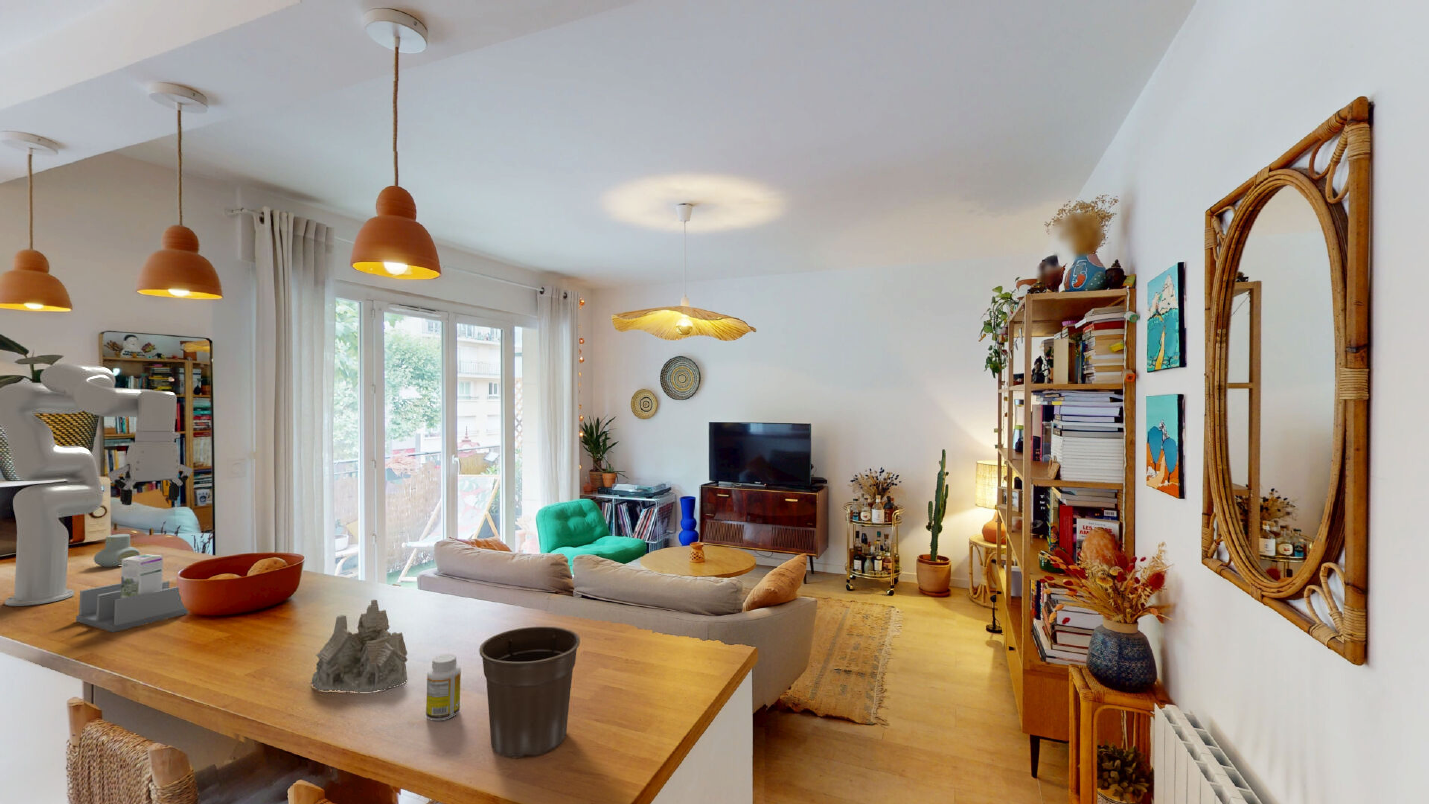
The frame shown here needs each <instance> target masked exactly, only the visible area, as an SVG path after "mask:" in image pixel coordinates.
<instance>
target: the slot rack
mask: <svg viewBox="0 0 1429 804" xmlns="http://www.w3.org/2000/svg"><path fill="white" fill-rule="evenodd" d="M178 586H179V585H177V586H174V587H170V581H168V580H166V581H162V590H158V591H153V592H149V593H144V594H139V595H134V596H130V597H125V598H121V582H119V583H114V584H109V585H108V584H107V585H103V586H97V587H93V588H87V589H82V590H80V591H79V608H78V614H77V615H76V616H75V622H76V621H77V622H76V623H79V622H80V624H83V623H84V625H86V624H87V625H86V626H91V627H93V626H95V627H94V628H96V627H98V628H97V629H100V630H103V629H105V630H104V631H107V630H108V631H107V632H110V633H116V632H120V631H124V630H123V629H125V630H129V629H133V628H135V627H134V626H137V627H140V625H141V626H144V625H143V624H145V625H147V624H146V623H149V624H151V623H152V622H153V623H155V621H157V622H159V621H158V620H161V621H165V620H167V619H166V618H169V619H172V617H173V618H175V616H177V617H180V616H179V615H181V616H184V614H185V615H188V614H189V610H188V611H187V609H186V608H185V607H184V605H183V603H182V601H181V596H180V594H179V588H178ZM164 619H165V620H164ZM153 623H152V624H153ZM132 627H133V628H132Z"/></svg>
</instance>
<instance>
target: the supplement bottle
mask: <svg viewBox="0 0 1429 804" xmlns="http://www.w3.org/2000/svg"><path fill="white" fill-rule="evenodd" d="M431 666H432V667H431V668H430V669H428V670H427V673H426V701H425V702H426V706H425V708H426V709H425V714H426V715H425V716H426V718H427V719H428V720H429V719H432V720H443V719H448V720H450V719H449V718H451V717H453V716H454V717H456V716H457V715H458V714H459V712H460V708H461V673H462V668H461V667H460V665H458V662H457V655H456V654H454V653H442V654H438V655H436V656H435V657H433V658H432V664H431ZM456 714H457V715H456ZM455 715H456V716H455ZM454 717H453V718H454ZM451 719H452V718H451ZM432 720H431V721H432Z"/></svg>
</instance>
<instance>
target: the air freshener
mask: <svg viewBox="0 0 1429 804" xmlns="http://www.w3.org/2000/svg"><path fill="white" fill-rule="evenodd" d="M137 555H141V552H140V550H139V549H138V548H136V547H133V546H131V535H130V534H129V533H118V534H110V535H107V536H106V537H105V547H104V548H103V549H101V550H100V551H98V552H97V553H95V555H94V556H93V561H94V563H95V564H97V565H98V566H101V567H103V566H104V568H113V567H112V566H119V565H122V559H125V558H128V557H132V556H137Z"/></svg>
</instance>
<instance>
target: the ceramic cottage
mask: <svg viewBox="0 0 1429 804" xmlns="http://www.w3.org/2000/svg"><path fill="white" fill-rule="evenodd" d="M347 620H348V619H347V615H344V614H339V615H337V617H336V619H335V625H334V629H333V633H332V634H331V637H330V638H329V640H328V641H327V642H326V643H325V644H324V646H323V647H322V648H321V649H320V651H319V652H318V653H316V655H315V656H316V657H317V658H318V661H317V662H316V668H315V669H316V671H315V672H314V673H313V674H312V678H311V683H310V684H313V687H315V688H316V689H318V690H323V691H329V690H332V691H335V690H336V691H338V690H340V691H346V692H347V691H353V692H354V691H355V692H373V691H377V690H384V689H386V690H387V688H388V689H390V688H389V687H393V688H395V687H394V686H397V685H400V684H402V683H404V682H405V683H407V682H406V680H407V681H408V679H407V678H408V672H407V665H406V664H407V663H406V662H407V661H408V659H409V658H407V655H408V650H407V647H406V644H405V641H404V640H405V639H404V635H403V632H399V633H397V632H396V631H395V632H392V633H391V632H390V631H388V630H389V629H390V624H389V619H388V615H387V610H386V609H383V610H380V609H379V603H378V600H377V599H371V600H370V605H368V606H367V608H366V612H365V613H361V614H360V617H359V619H358V624H357V630H358V631H357V632H355V633H354V632H353V633H352V632H351V631H350V630H348V621H347ZM405 683H404V684H405ZM400 686H401V685H400ZM397 687H398V686H397ZM384 691H385V690H384Z"/></svg>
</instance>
